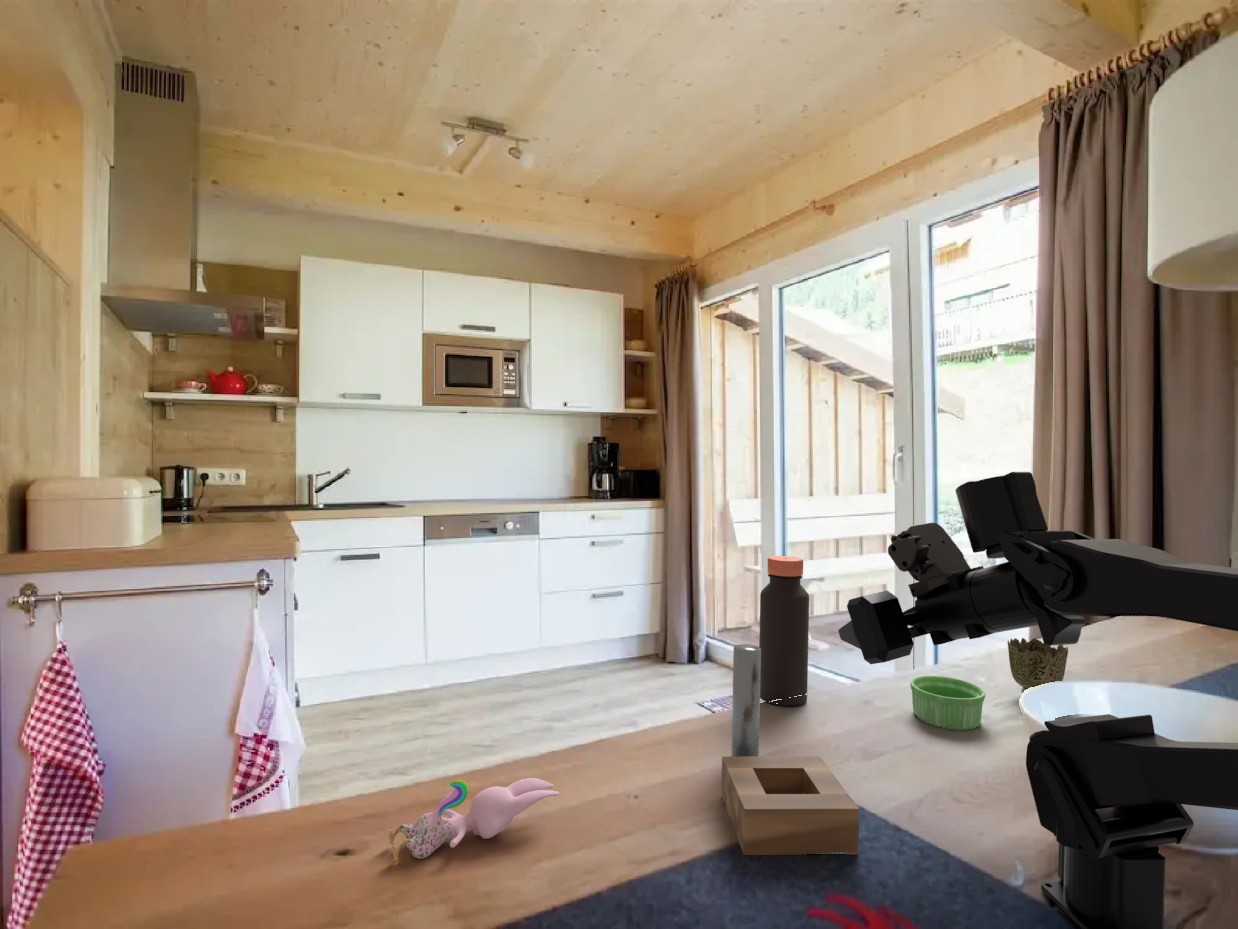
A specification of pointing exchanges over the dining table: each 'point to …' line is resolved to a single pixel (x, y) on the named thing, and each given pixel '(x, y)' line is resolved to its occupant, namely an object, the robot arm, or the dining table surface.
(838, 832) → the walnut square frame
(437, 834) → the rabbit figure
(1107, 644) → the dining table surface
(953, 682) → the ramekin
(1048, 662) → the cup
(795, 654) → the bottle
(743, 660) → the steel rod
